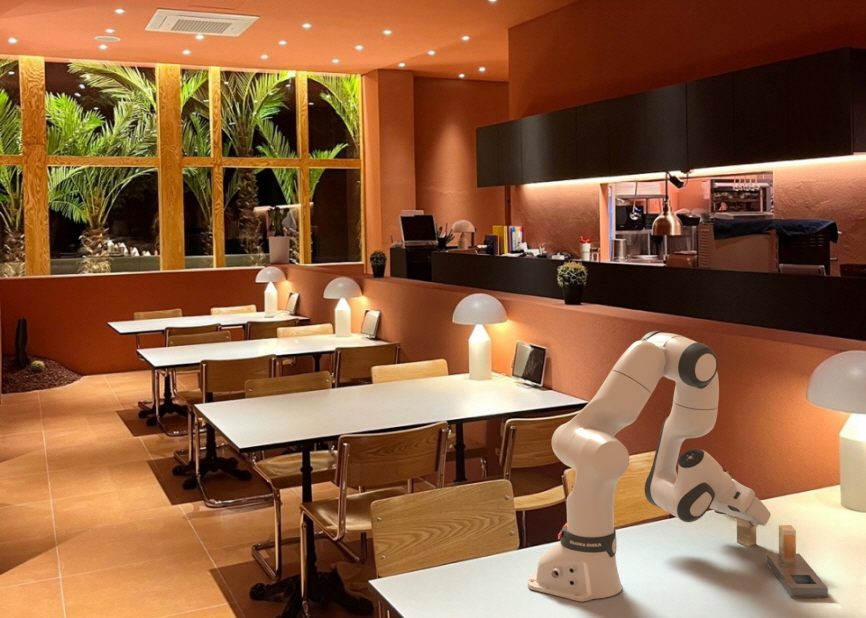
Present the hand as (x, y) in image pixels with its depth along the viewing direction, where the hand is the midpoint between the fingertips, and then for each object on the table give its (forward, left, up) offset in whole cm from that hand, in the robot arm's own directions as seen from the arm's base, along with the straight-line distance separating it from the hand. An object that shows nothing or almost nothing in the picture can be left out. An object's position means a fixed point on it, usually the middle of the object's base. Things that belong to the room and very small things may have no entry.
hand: (747, 521), depth 239 cm
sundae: (-10, +25, -6) cm, 28 cm away
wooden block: (0, -1, -6) cm, 6 cm away
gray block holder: (+14, -23, -6) cm, 27 cm away
